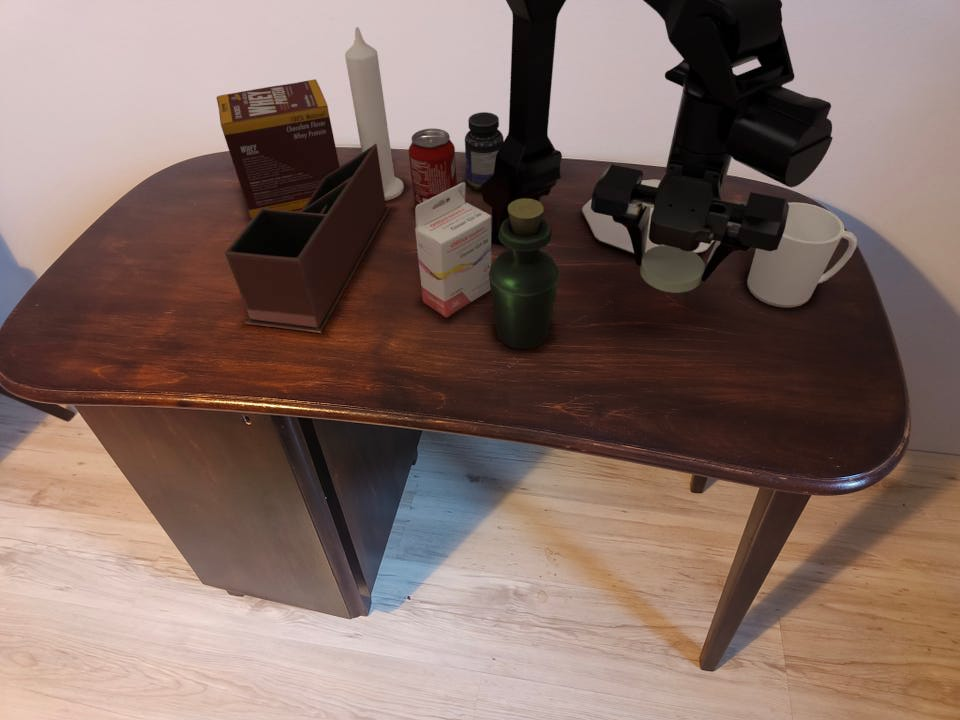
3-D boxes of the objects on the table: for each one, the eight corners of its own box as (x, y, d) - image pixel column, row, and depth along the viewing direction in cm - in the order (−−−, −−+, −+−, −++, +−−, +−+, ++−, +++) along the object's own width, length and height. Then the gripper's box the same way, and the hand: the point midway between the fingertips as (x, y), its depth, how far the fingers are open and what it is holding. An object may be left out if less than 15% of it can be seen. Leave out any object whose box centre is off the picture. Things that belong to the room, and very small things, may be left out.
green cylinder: (631, 289, 71) (635, 273, 69) (646, 254, 75) (649, 239, 73) (693, 305, 69) (698, 289, 67) (705, 268, 73) (710, 253, 71)
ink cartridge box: (447, 320, 82) (438, 222, 71) (422, 302, 84) (410, 206, 74) (494, 289, 86) (492, 192, 75) (468, 273, 88) (463, 178, 78)
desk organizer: (245, 325, 82) (217, 254, 74) (328, 203, 102) (313, 137, 94) (322, 335, 81) (301, 263, 72) (391, 209, 100) (381, 142, 92)
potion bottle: (507, 364, 76) (508, 238, 63) (479, 322, 81) (474, 199, 68) (567, 343, 78) (579, 217, 65) (536, 304, 83) (541, 181, 71)
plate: (622, 176, 105) (623, 168, 104) (739, 213, 97) (741, 204, 96) (560, 234, 94) (561, 225, 93) (686, 280, 86) (689, 271, 85)
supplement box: (347, 199, 103) (328, 104, 92) (250, 219, 100) (218, 123, 88) (336, 169, 110) (316, 77, 99) (245, 187, 106) (214, 94, 95)
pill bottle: (472, 172, 108) (469, 108, 100) (507, 175, 107) (507, 111, 99) (462, 190, 104) (459, 126, 96) (499, 194, 103) (498, 129, 95)
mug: (740, 302, 83) (763, 236, 75) (745, 262, 88) (767, 197, 81) (832, 320, 80) (865, 253, 72) (831, 278, 86) (861, 211, 78)
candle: (401, 201, 102) (379, 36, 84) (357, 202, 102) (326, 37, 84) (405, 178, 107) (385, 17, 89) (364, 179, 107) (335, 19, 89)
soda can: (453, 223, 97) (447, 150, 89) (410, 219, 98) (401, 146, 90) (462, 199, 102) (458, 128, 93) (421, 196, 103) (414, 125, 94)
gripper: (582, 161, 57) (568, 293, 69) (801, 205, 52) (747, 341, 63) (615, 109, 64) (597, 237, 76) (812, 143, 59) (761, 275, 70)
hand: (670, 271), depth 71 cm, fingers closed on green cylinder, 7 cm apart
